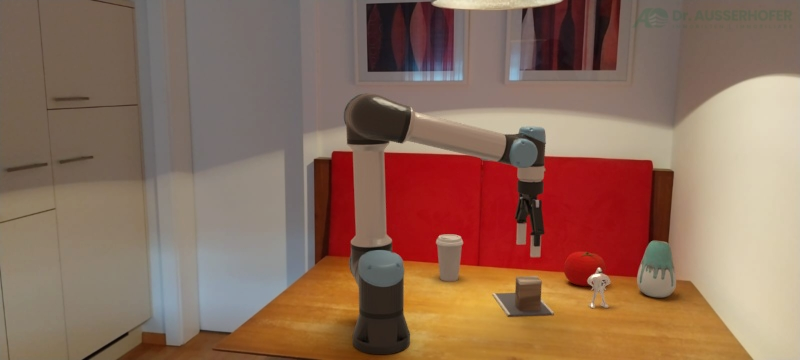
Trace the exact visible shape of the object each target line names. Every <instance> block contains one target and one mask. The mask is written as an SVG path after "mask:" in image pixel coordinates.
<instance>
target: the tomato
mask: <svg viewBox="0 0 800 360" xmlns="http://www.w3.org/2000/svg"><path fill="white" fill-rule="evenodd" d="M597 268H601V270H602V274H605V275H606V262H605V261H604V259H603V258H602V256H600V254H596V253H593V252H592V253H591V252H588V251H574V252H572V253H571V254H569V255H568V257H567V258H566V259H565V262H564V266H563V271H564V275H565V278H566V279H567V281H568V282H570V283H571V284H573V285H575V286H580V287H588V286H591V285H589V284H588V282H587V280H588V278H589V277H590V276H591V275H593V274H595V273H596V270H597ZM592 284H593V281H592ZM593 285H594V284H593Z"/></svg>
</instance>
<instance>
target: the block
mask: <svg viewBox="0 0 800 360" xmlns="http://www.w3.org/2000/svg"><path fill="white" fill-rule="evenodd" d="M542 284H543V281H542V280H541V279H540V278H539V277H538V276H537V275H530V276H525V275H524V276H515V288H514V289H515V292H514V293H515V306H516V307H517V308H518V310H519V311H526V310H540V309H541V299H542Z"/></svg>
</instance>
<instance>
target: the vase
mask: <svg viewBox="0 0 800 360" xmlns="http://www.w3.org/2000/svg"><path fill="white" fill-rule="evenodd" d="M640 261H641V262H640V265H639V267H638V271H637V276H636V283H637V287H638V289H639V291H640V292H641V293H643V294H644V295H646V296H648V297H652V298H666V297H667V298H668V297H669V296H670V295H672V294H673V293H674V291H675V289H676V286H677V277H676V276H677V275H676V271H675V264H674V261H673V255H672V249H671V245H670V244H669V242H667V241H661V240H652V241H650V242H649V243H648V245H647V246H646V248H645V251H644V254H643V257H642V259H641V260H640Z"/></svg>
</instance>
